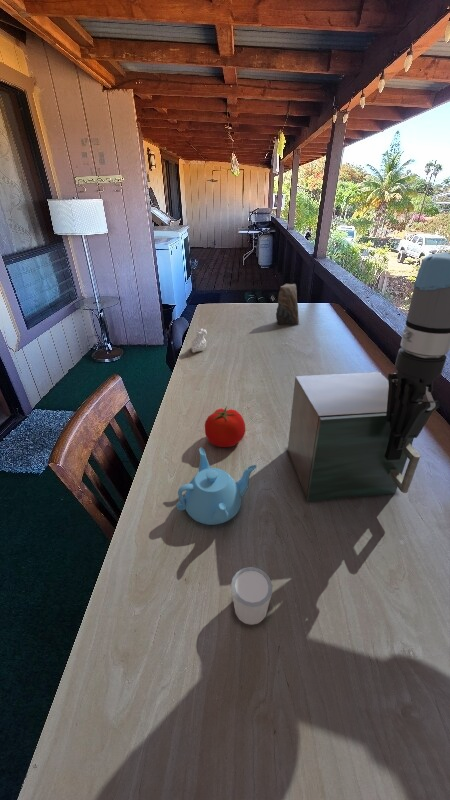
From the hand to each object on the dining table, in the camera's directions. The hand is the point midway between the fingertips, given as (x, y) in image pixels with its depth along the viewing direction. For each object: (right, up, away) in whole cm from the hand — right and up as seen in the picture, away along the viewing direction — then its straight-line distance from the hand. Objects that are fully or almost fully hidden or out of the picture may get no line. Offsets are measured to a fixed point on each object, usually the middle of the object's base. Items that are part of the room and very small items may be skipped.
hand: (392, 458), depth 72 cm
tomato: (-35, 0, +30) cm, 46 cm away
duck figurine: (-46, +41, +85) cm, 105 cm away
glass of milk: (-30, -25, -11) cm, 40 cm away
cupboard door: (-4, -13, +9) cm, 16 cm away
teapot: (-36, -13, +9) cm, 40 cm away
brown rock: (0, +55, +122) cm, 134 cm away
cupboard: (-5, -6, +20) cm, 21 cm away
